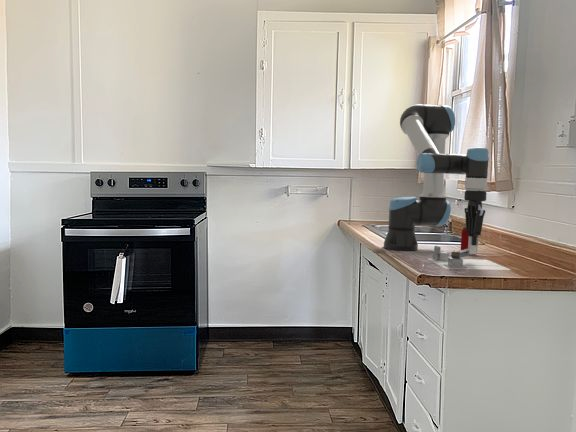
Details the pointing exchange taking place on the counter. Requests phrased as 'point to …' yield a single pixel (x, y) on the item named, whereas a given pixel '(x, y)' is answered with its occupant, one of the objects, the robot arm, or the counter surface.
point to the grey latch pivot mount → (455, 263)
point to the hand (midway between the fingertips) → (472, 253)
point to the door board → (473, 264)
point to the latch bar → (459, 253)
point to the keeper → (440, 254)
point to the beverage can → (465, 239)
